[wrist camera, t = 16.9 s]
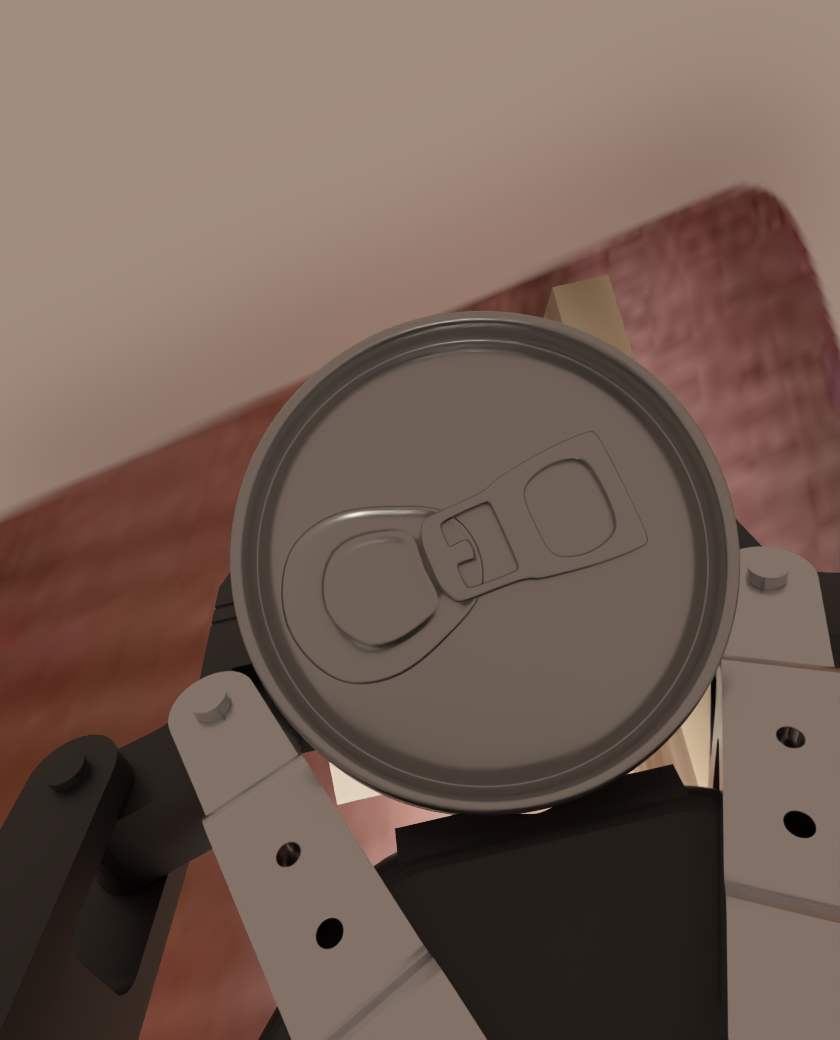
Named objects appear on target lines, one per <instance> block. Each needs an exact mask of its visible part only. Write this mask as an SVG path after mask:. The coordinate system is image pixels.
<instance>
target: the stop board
mask: <svg viewBox="0 0 840 1040" xmlns="http://www.w3.org/2000/svg"><path fill="white" fill-rule="evenodd" d="M543 318H545V319H549V320H553V321H556V322H559V323H562V324H566V325H568V326H571V327H574V328H577V329H579V330H581V331H584V332H586V333H589V334H591V335H593V336H595V337H597V338H599V339H601V340H603V341H605V342H607V343H608V344H610V345H612V346H614V347H615V348H617V349H619V350H620V351H622V352H623V353H625V354H626V355H628V356H629V357H631V358H632V359H634V356H633V353H632V350H631V347H630V344H629V340H628V337H627V334H626V331H625V328H624V324H623V321H622V318H621V315H620V312H619V308H618V305H617V302H616V299H615V296H614V292H613V289H612V286H611V283H610V280H609V276H608V274H607V275H603V276H598V277H594V278H590V279H586V280H581V281H577V282H573V283H568V284H564V285H560V286H556V287H552V290H551V293H550V297H549V300H548V304H547V307H546V311H545V314H544V317H543ZM670 764H673V765H674V767H675V769H676V771H677V773H678V775H679V777H680V779H681V780H682V782H683V784H684V785H686V786H700V787H708V775H709V687H708V689H707V691H706V692H705V694H704V695H703V697H702V699H701V700H700V702H699V703H698V705H697V706H696V708H695V709H694V711H693V712H692V713H691V715H690V716H689V717H688V719H687V720H686V721H685V722H684V724H683V725H682V726H681V727H680V728H679V729H678V731H677V732H676V733H675V734H674V735H673V736H672V737H671V738H670V739H669V740H668V741H667V742H666V743H665V744H664V745H663V746H662V747H661V748H660V749H659V750H658V751H657V752H655V753H654V754H653V755H652V756H651V757H649V758H648V759H647V760H646V761H645V762H643V763H642V764H641V765H639V766H638V767H637V768H635V773H636V772H640V771H645V770H649V769H653V768H657V767H662V766H666V765H670Z"/></svg>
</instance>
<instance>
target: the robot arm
mask: <svg viewBox="0 0 840 1040" xmlns="http://www.w3.org/2000/svg"><path fill="white" fill-rule="evenodd" d="M736 523H737V529H738V537H739V547H740V584H739V595H738V602H737V608H736V614H735V619H734V623H733V627H732V631H731V634H730V638H729V641H728V644H727V647H726V650H725V653H724V655H723V658H722V660H721V662H720V665H719V667H718V669H717V671H716V674H715V676H714V678H713V680H712V682H711V683H710V685H709V775H708V787H700V786H686V785H684V784H683V782H682V780H681V779H680V777H679V775H678V773H677V771H676V769H675V767H674V765H673V764H670V765H666V766H662V767H657V768H653V769H649V770H645V771H640V772H636V773H632V774H627V775H625V776H623V777H622V778H620V779H618V780H616V781H615V782H613V783H611V784H609V785H607V786H606V787H604V788H602V789H600V790H598V791H595V792H593V793H591V794H589V795H586V796H584V797H581V798H579V799H576V800H573V801H571V802H568V803H565V804H561V805H558V806H554V807H552V808H550V809H548V810H546V811H544V812H541V813H537V814H507V815H468V814H456V815H452V816H447V817H443V818H439V819H435V820H430V821H426V822H422V823H417V824H413V825H409V826H405V827H400V828H396V829H395V833H396V843H397V852H396V853H394V854H392V855H390V856H388V857H387V858H385V859H384V860H382V861H381V862H379V863H378V864H376V865H375V866H374V867H373V865H372V864H371V862H370V861H369V859H368V857H367V856H366V854H365V853H364V851H363V850H362V848H361V846H360V845H359V843H358V842H357V840H356V839H355V837H354V835H353V834H352V832H351V831H350V829H349V828H348V826H347V825H346V823H345V821H344V820H343V818H342V817H341V815H340V814H339V812H338V810H337V809H336V807H335V806H334V804H333V803H332V801H331V799H330V798H329V796H328V795H327V793H326V792H325V790H324V789H323V787H322V785H321V784H320V782H319V781H318V779H317V778H316V776H315V774H314V773H313V771H312V770H311V768H310V767H309V765H308V764H307V762H306V760H305V759H304V758H303V756H302V755H301V753H306V752H310V751H314V750H315V749H314V748H313V747H312V746H311V745H310V744H309V743H308V742H307V741H306V740H305V739H304V738H303V737H302V736H301V735H300V734H299V733H298V732H297V731H296V730H295V729H294V728H293V727H292V725H291V724H290V723H289V722H288V721H287V719H286V718H285V717H284V716H283V714H282V713H281V712H280V710H279V709H278V708H277V706H276V705H275V703H274V702H273V700H272V699H271V697H270V696H269V694H268V693H267V691H266V689H265V688H264V686H263V684H262V682H261V680H260V679H259V677H258V675H257V673H256V671H255V669H254V667H253V664H252V662H251V660H250V658H249V655H248V653H247V650H246V647H245V645H244V642H243V639H242V636H241V633H240V629H239V625H238V622H237V617H236V613H235V608H234V602H233V596H232V588H231V577H230V573H229V575H228V576H227V577H226V579H225V580H224V582H223V583H222V584H221V586H220V587H219V591H218V596H217V600H216V605H215V608H216V610H214V614H213V619H212V624H213V626H211V629H210V633H209V638H208V643H207V647H206V652H205V657H204V662H203V666H202V671H201V676H200V680H198V681H197V682H195V683H194V684H192V685H191V686H190V687H189V688H187V689H186V690H185V691H184V692H183V693H182V694H181V695H180V696H179V698H178V699H177V700H176V702H175V703H174V705H173V707H172V709H171V711H170V714H169V719H168V723H167V724H166V725H164V726H163V727H161V728H159V729H158V730H156V731H154V732H152V733H150V734H148V735H146V736H144V737H142V738H140V739H138V740H136V741H134V742H132V743H130V744H128V745H126V746H124V747H122V748H120V749H118V748H117V746H116V745H115V744H114V742H113V741H112V740H111V739H110V738H108V737H106V736H103V735H88V736H83V737H80V738H77V739H74V740H72V741H70V742H68V743H66V744H64V745H62V746H61V747H59V748H58V749H56V750H55V751H53V752H52V753H51V754H50V755H48V756H47V757H46V758H45V759H44V760H43V761H42V762H41V763H40V764H39V765H38V766H37V767H36V769H35V770H34V771H33V772H32V774H31V775H30V777H29V779H28V780H27V782H26V784H25V786H24V788H23V789H22V791H21V793H20V795H19V797H18V799H17V800H16V802H15V804H14V806H13V808H12V810H11V811H10V813H9V815H8V817H7V819H6V821H5V822H4V824H3V826H2V828H1V830H0V1040H138V1039H139V1035H140V1032H141V1028H142V1025H143V1021H144V1018H145V1014H146V1011H147V1007H148V1004H149V1000H150V997H151V993H152V990H153V986H154V983H155V979H156V976H157V972H158V969H159V965H160V962H161V958H162V955H163V951H164V948H165V944H166V941H167V937H168V934H169V930H170V927H171V923H172V920H173V916H174V913H175V909H176V906H177V902H178V899H179V895H180V892H181V888H182V885H183V881H184V878H185V874H186V871H187V867H188V864H189V861H191V860H193V859H195V858H197V857H198V856H200V855H202V854H204V853H205V852H207V851H209V850H211V849H212V848H213V851H214V853H215V856H216V858H217V860H218V863H219V865H220V868H221V870H222V873H223V875H224V877H225V880H226V882H227V885H228V887H229V890H230V892H231V894H232V897H233V899H234V902H235V904H236V906H237V909H238V911H239V914H240V916H241V919H242V921H243V923H244V926H245V928H246V931H247V933H248V936H249V938H250V940H251V943H252V945H253V948H254V950H255V952H256V955H257V957H258V960H259V962H260V965H261V967H262V969H263V972H264V974H265V977H266V979H267V982H268V984H269V986H270V989H271V991H272V994H273V996H274V999H275V1001H276V1003H277V1008H276V1010H275V1011H274V1013H273V1015H272V1017H271V1018H270V1020H269V1022H268V1023H267V1025H266V1027H265V1029H264V1030H263V1032H262V1034H261V1036H260V1037H259V1039H258V1040H840V573H825V572H816V570H815V569H814V567H813V566H812V565H811V564H810V563H809V562H808V561H806V560H805V559H804V558H802V557H800V556H798V555H797V554H794V553H792V552H789V551H786V550H783V549H778V548H773V547H762V546H761V545H760V544H759V543H758V542H757V541H756V540H755V539H754V537H753V536H752V535H751V534H750V533H749V532H748V531H747V530H746V529H745V528H744V527H743V526H742V525H741V524H740V523H739V522H738V521H737V520H736Z"/></svg>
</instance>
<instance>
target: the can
mask: <svg viewBox="0 0 840 1040" xmlns="http://www.w3.org/2000/svg"><path fill="white" fill-rule="evenodd" d="M230 577H231V588H232V596H233V602H234V608H235V613H236V617H237V622H238V625H239V629H240V633H241V636H242V639H243V642H244V645H245V647H246V650H247V653H248V655H249V658H250V660H251V662H252V664H253V667H254V669H255V671H256V673H257V675H258V677H259V679H260V680H261V682H262V684H263V686H264V688H265V689H266V691H267V693H268V694H269V696H270V697H271V699H272V700H273V702H274V703H275V705H276V706H277V708H278V709H279V710H280V712H281V713H282V714H283V716H284V717H285V718H286V719H287V721H288V722H289V723H290V724H291V725H292V727H293V728H294V729H295V730H296V731H297V732H298V733H299V734H300V735H301V736H302V737H303V738H304V739H305V740H306V741H307V742H308V743H309V744H310V745H311V746H312V747H313V748H314V749H315V750H316V751H317V752H319V753H320V754H321V755H322V756H323V757H324V758H326V759H327V760H328V761H329V762H330V763H332V764H333V765H334V766H335V767H337V768H338V769H339V770H341V771H342V772H344V773H345V774H347V775H348V776H349V777H351V778H353V779H354V780H356V781H357V782H359V783H361V784H363V785H364V786H366V787H368V788H370V789H372V790H374V791H376V792H378V793H380V794H382V795H384V796H387V797H389V798H391V799H394V800H396V801H399V802H402V803H405V804H408V805H411V806H414V807H417V808H421V809H425V810H429V811H434V812H439V813H445V814H452V815H456V814H468V815H507V814H521V813H527V812H532V811H537V810H542V809H546V808H551V807H554V806H558V805H561V804H565V803H568V802H571V801H573V800H576V799H579V798H581V797H584V796H586V795H589V794H591V793H593V792H595V791H598V790H600V789H602V788H604V787H606V786H607V785H609V784H611V783H613V782H615V781H616V780H618V779H620V778H622V777H623V776H625V775H626V774H628V773H629V772H631V771H632V770H634V769H635V768H637V767H638V766H639V765H641V764H642V763H643V762H645V761H646V760H647V759H648V758H649V757H651V756H652V755H653V754H654V753H655V752H657V751H658V750H659V749H660V748H661V747H662V746H663V745H664V744H665V743H666V742H667V741H668V740H669V739H670V738H671V737H672V736H673V735H674V734H675V733H676V732H677V731H678V729H679V728H680V727H681V726H682V725H683V724H684V722H685V721H686V720H687V719H688V717H689V716H690V715H691V713H692V712H693V711H694V709H695V708H696V706H697V705H698V703H699V702H700V700H701V699H702V697H703V695H704V694H705V692H706V691H707V689H708V687H709V685H710V683H711V682H712V680H713V678H714V676H715V674H716V671H717V669H718V667H719V665H720V662H721V660H722V658H723V655H724V653H725V650H726V647H727V644H728V641H729V638H730V634H731V631H732V627H733V623H734V619H735V614H736V608H737V602H738V595H739V584H740V547H739V537H738V529H737V523H736V517H735V513H734V508H733V504H732V500H731V497H730V493H729V490H728V487H727V484H726V481H725V478H724V476H723V473H722V471H721V468H720V466H719V464H718V461H717V459H716V457H715V455H714V453H713V451H712V449H711V447H710V445H709V444H708V442H707V440H706V438H705V437H704V435H703V433H702V432H701V430H700V429H699V427H698V426H697V424H696V423H695V421H694V420H693V418H692V417H691V416H690V414H689V413H688V412H687V410H686V409H685V408H684V406H683V405H682V404H681V403H680V402H679V401H678V399H677V398H676V397H675V396H674V395H673V394H672V393H671V392H670V391H669V390H668V389H667V388H666V387H665V386H664V385H663V384H662V383H661V382H660V381H659V380H658V379H657V378H656V377H655V376H654V375H653V374H651V373H650V372H649V371H648V370H647V369H645V368H644V367H643V366H642V365H640V364H639V363H638V362H636V361H635V360H634V359H632V358H631V357H629V356H628V355H626V354H625V353H623V352H622V351H620V350H619V349H617V348H615V347H614V346H612V345H610V344H608V343H607V342H605V341H603V340H601V339H599V338H597V337H595V336H593V335H591V334H589V333H586V332H584V331H581V330H579V329H577V328H574V327H571V326H568V325H566V324H562V323H559V322H556V321H553V320H549V319H545V318H541V317H536V316H531V315H526V314H520V313H512V312H501V311H463V312H453V313H446V314H439V315H434V316H429V317H424V318H420V319H417V320H413V321H409V322H406V323H403V324H400V325H397V326H395V327H392V328H389V329H386V330H384V331H382V332H379V333H377V334H375V335H373V336H371V337H369V338H367V339H365V340H363V341H361V342H359V343H357V344H356V345H354V346H352V347H351V348H349V349H347V350H346V351H344V352H342V353H341V354H340V355H338V356H337V357H335V358H334V359H332V360H331V361H330V362H328V363H327V364H326V365H324V366H323V367H322V368H321V369H320V370H318V371H317V372H316V373H315V374H314V375H313V376H312V377H310V378H309V379H308V380H307V381H306V382H305V383H304V384H303V385H302V386H301V387H300V388H299V389H298V390H297V391H296V392H295V394H294V395H293V396H292V397H291V398H290V399H289V400H288V402H287V403H286V404H285V405H284V406H283V408H282V409H281V410H280V412H279V413H278V414H277V416H276V417H275V419H274V420H273V422H272V423H271V424H270V426H269V428H268V429H267V431H266V432H265V434H264V436H263V438H262V439H261V441H260V443H259V445H258V447H257V449H256V451H255V453H254V455H253V457H252V459H251V462H250V464H249V466H248V469H247V471H246V474H245V477H244V480H243V483H242V486H241V489H240V492H239V496H238V499H237V504H236V508H235V513H234V519H233V525H232V533H231V544H230Z"/></svg>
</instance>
